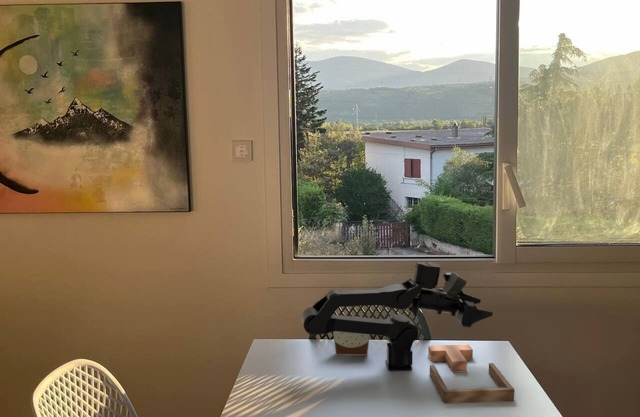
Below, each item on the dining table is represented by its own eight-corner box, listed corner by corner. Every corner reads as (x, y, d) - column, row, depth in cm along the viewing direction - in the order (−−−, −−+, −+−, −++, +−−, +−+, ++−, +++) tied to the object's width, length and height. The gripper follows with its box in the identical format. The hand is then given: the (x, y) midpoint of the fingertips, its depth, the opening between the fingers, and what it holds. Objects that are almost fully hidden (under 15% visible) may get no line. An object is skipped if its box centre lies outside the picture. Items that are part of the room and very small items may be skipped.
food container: (372, 347, 187) (372, 316, 185) (372, 355, 181) (372, 323, 179) (332, 346, 188) (332, 315, 186) (330, 354, 182) (330, 322, 180)
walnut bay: (444, 403, 150) (444, 391, 150) (429, 375, 166) (429, 365, 166) (514, 400, 151) (514, 389, 151) (492, 373, 167) (493, 363, 167)
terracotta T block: (437, 372, 168) (437, 362, 168) (428, 355, 180) (428, 345, 180) (480, 371, 169) (481, 360, 168) (468, 354, 181) (468, 344, 180)
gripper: (450, 285, 161) (506, 293, 163) (430, 262, 179) (481, 269, 181) (441, 324, 163) (496, 331, 165) (422, 298, 181) (472, 304, 183)
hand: (486, 307), depth 174 cm, fingers open, 9 cm apart
